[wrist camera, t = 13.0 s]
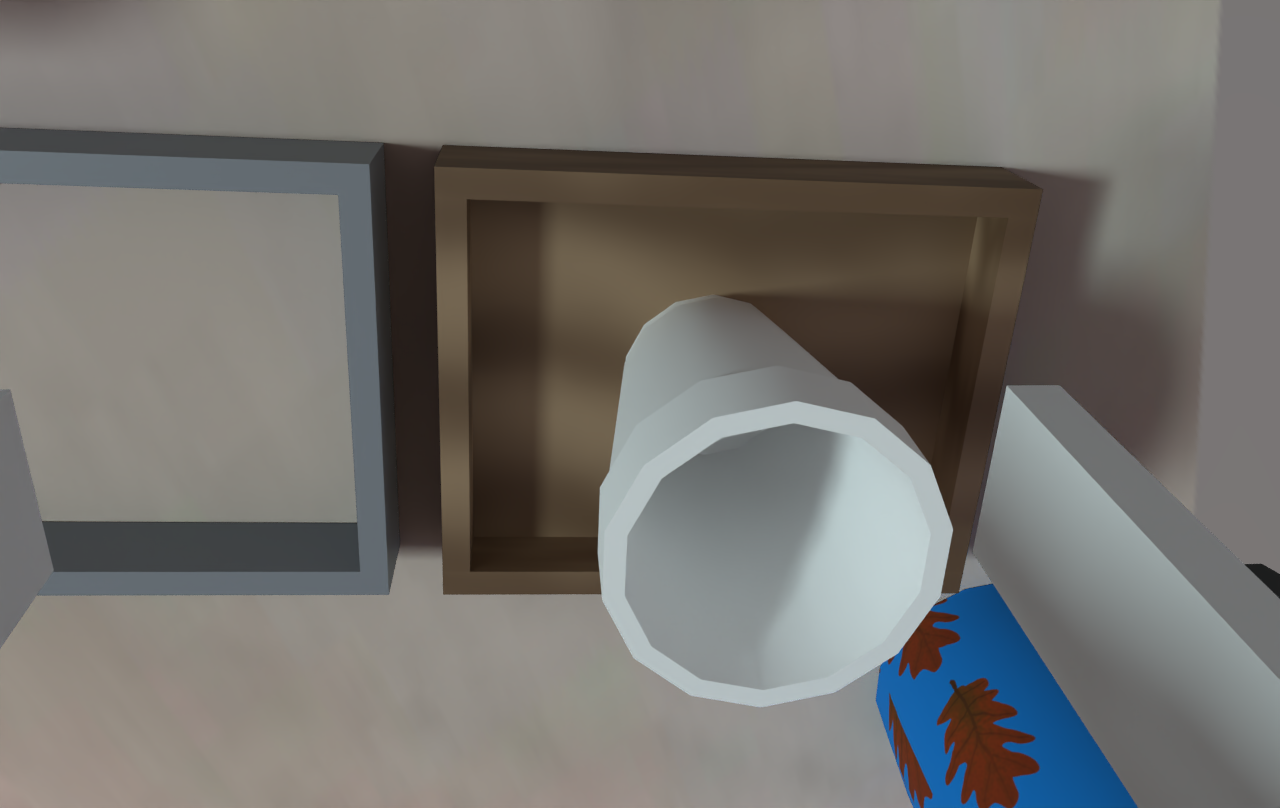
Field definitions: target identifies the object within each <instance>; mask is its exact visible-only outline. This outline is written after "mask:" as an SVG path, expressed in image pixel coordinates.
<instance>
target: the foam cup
mask: <svg viewBox="0 0 1280 808" xmlns="http://www.w3.org/2000/svg"><path fill="white" fill-rule="evenodd" d="M952 533H953V527H952V524H951V522H950V519H949V516H948V513H947V510H946V507H945V504H944V502H943V499H942V496H941V493H940V490H939V487H938V484H937V482H936V479H935V476H934V473H933V470H932V467H931V465H930V464H929V462H928V461H927V459H926V458H925V457H924V455H923V454H922V452H921V451H920V450H919V448H918V447H917V445H916V444H915V443H914V441H913V440H912V438H911V437H910V436H909V434H908V433H907V431H906V430H905V429H904V427H903V426H902V425H901V424H899V423H898V422H897V421H896V420H895V419H894V418H892V417H891V416H890V415H889V414H888V413H886V412H885V411H884V410H883V409H882V408H881V407H879V406H878V405H877V404H876V403H875V402H873V401H872V400H871V399H870V398H869V397H868V396H866V395H865V394H864V393H863V392H862V391H860V390H859V389H858V388H857V387H856V386H855V385H853V384H852V383H851V382H848V381H844V380H839V379H838V378H837V377H835V376H834V375H833V374H832V373H831V372H830V371H829V370H827V369H826V368H825V367H824V366H823V365H822V364H821V363H819V362H818V361H817V360H816V359H815V358H814V357H813V356H812V355H810V354H809V353H808V352H807V351H806V350H805V349H804V348H802V347H801V346H800V345H799V344H798V343H797V342H796V341H794V340H793V339H792V338H791V337H790V336H789V335H788V334H786V333H785V332H784V331H783V330H782V329H781V328H779V327H778V326H777V325H776V324H775V323H774V322H772V321H771V320H770V319H769V318H768V317H766V316H765V315H764V314H763V313H762V312H760V311H759V310H758V309H757V308H756V307H754V306H753V305H752V304H751V303H747V302H743V301H739V300H735V299H730V298H726V297H722V296H718V295H709V296H704V297H699V298H694V299H689V300H684V301H679V302H675V303H674V304H672V305H671V306H669V307H668V308H667V309H665V310H664V311H662V312H661V313H660V314H658V315H657V316H655V317H654V318H653V319H651V320H650V321H648V322H647V323H646V324H644V325H643V327H642V329H641V331H640V333H639V334H638V336H637V338H636V340H635V342H634V343H633V345H632V347H631V349H630V350H629V352H628V354H627V356H626V361H625V363H624V370H623V378H622V385H621V392H620V399H619V406H618V413H617V420H616V427H615V434H614V441H613V448H612V455H611V463H610V470H609V473H608V474H607V476H606V478H605V479H604V481H603V483H602V485H601V486H600V499H599V528H598V561H599V572H600V582H601V593H602V601H603V602H604V604H605V606H606V608H607V610H608V612H609V614H610V615H611V617H612V619H613V621H614V623H615V625H616V627H617V628H618V630H619V632H620V634H621V636H622V638H623V639H624V641H625V643H626V645H627V647H628V649H629V651H630V652H631V654H632V656H633V658H634V659H636V660H637V661H639V662H640V663H642V664H643V665H645V666H646V667H648V668H649V669H651V670H652V671H654V672H655V673H657V674H658V675H660V676H661V677H663V678H665V679H666V680H668V681H669V682H671V683H672V684H674V685H675V686H677V687H678V688H680V689H681V690H683V691H684V692H686V693H687V694H689V695H690V696H696V697H702V698H708V699H714V700H720V701H726V702H732V703H738V704H744V705H750V706H756V707H766V706H771V705H776V704H781V703H786V702H791V701H796V700H800V699H805V698H810V697H815V696H820V695H825V694H830V693H835V692H836V691H838V690H840V689H841V688H843V687H844V686H846V685H848V684H849V683H851V682H853V681H854V680H856V679H857V678H859V677H861V676H862V675H864V674H866V673H867V672H869V671H870V670H872V669H874V668H875V667H877V666H879V665H880V664H882V663H883V662H885V661H887V660H888V659H890V658H892V657H893V656H895V655H896V654H898V653H899V651H900V650H901V649H902V647H903V646H904V645H905V643H906V642H907V641H908V639H909V638H910V637H911V635H912V634H913V633H914V631H915V630H916V628H917V627H918V626H919V624H920V623H921V622H922V620H923V619H924V618H925V616H926V615H927V614H928V612H929V611H930V610H931V608H932V607H933V605H934V604H935V603H936V601H937V600H938V599H939V597H940V596H941V591H942V585H943V580H944V575H945V570H946V564H947V559H948V554H949V548H950V543H951V538H952Z"/></svg>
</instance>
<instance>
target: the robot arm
mask: <svg viewBox="0 0 1280 808" xmlns="http://www.w3.org/2000/svg"><path fill="white" fill-rule="evenodd" d="M973 554H974V555H975V557H976V558H977V560H978V562H979V563H980V565H981V566H982V568H983V569H984V571H985V572H986V574H987V575H988V577H989V579H990V580H991V582H992V583H993V585H994V586H995V588H996V589H997V591H998V592H999V594H1000V595H1001V597H1002V599H1003V600H1004V602H1005V603H1006V605H1007V606H1008V608H1009V609H1010V611H1011V612H1012V614H1013V615H1014V617H1015V619H1016V620H1017V622H1018V623H1019V625H1020V626H1021V628H1022V629H1023V631H1024V632H1025V634H1026V636H1027V637H1028V639H1029V640H1030V642H1031V643H1032V645H1033V646H1034V648H1035V649H1036V651H1037V652H1038V654H1039V656H1040V657H1041V659H1042V660H1043V662H1044V663H1045V665H1046V666H1047V668H1048V669H1049V671H1050V672H1051V674H1052V676H1053V677H1054V679H1055V680H1056V682H1057V683H1058V685H1059V686H1060V688H1061V689H1062V691H1063V693H1064V694H1065V696H1066V697H1067V699H1068V700H1069V702H1070V703H1071V705H1072V706H1073V708H1074V709H1075V711H1076V713H1077V714H1078V716H1079V717H1080V719H1081V720H1082V722H1083V723H1084V725H1085V726H1086V728H1087V729H1088V731H1089V733H1090V734H1091V736H1092V737H1093V739H1094V740H1095V742H1096V743H1097V745H1098V746H1099V748H1100V750H1101V751H1102V753H1103V754H1104V756H1105V757H1106V759H1107V760H1108V762H1109V763H1110V765H1111V766H1112V768H1113V770H1114V771H1115V773H1116V774H1117V776H1118V777H1119V779H1120V780H1121V782H1122V783H1123V785H1124V786H1125V788H1126V790H1127V791H1128V793H1129V794H1130V796H1131V797H1132V799H1133V800H1134V802H1135V803H1136V805H1137V807H1138V808H1280V574H1278V573H1277V572H1275V571H1273V570H1272V569H1270V568H1268V567H1266V566H1264V565H1263V564H1243V563H1242V562H1241V561H1240V560H1239V559H1238V558H1237V557H1236V556H1235V555H1234V554H1233V553H1232V552H1231V551H1230V550H1229V549H1228V548H1227V547H1226V546H1225V545H1224V544H1223V543H1222V542H1221V541H1220V540H1219V539H1218V538H1217V537H1216V536H1215V535H1214V534H1212V533H1211V532H1210V531H1209V530H1208V529H1207V528H1206V527H1205V526H1204V525H1203V524H1202V523H1201V522H1200V521H1199V520H1198V519H1197V518H1196V517H1195V516H1194V515H1193V514H1192V513H1191V512H1190V511H1189V510H1188V509H1187V508H1186V507H1185V506H1184V505H1183V504H1182V503H1181V502H1180V501H1178V500H1177V499H1176V498H1175V497H1174V496H1173V495H1172V494H1171V493H1170V492H1169V491H1168V490H1167V489H1166V488H1165V487H1164V486H1163V485H1162V484H1161V483H1160V482H1159V481H1158V480H1157V479H1156V478H1155V477H1154V476H1153V475H1152V474H1151V473H1150V472H1149V471H1148V470H1147V469H1146V468H1144V467H1143V466H1142V465H1141V464H1140V463H1139V462H1138V461H1137V460H1136V459H1135V458H1134V457H1133V456H1132V455H1131V454H1130V453H1129V452H1128V451H1127V450H1126V449H1125V448H1124V447H1123V446H1122V445H1121V444H1120V443H1119V442H1118V441H1117V440H1116V439H1115V438H1114V437H1113V436H1112V435H1110V434H1109V433H1108V432H1107V431H1106V430H1105V429H1104V428H1103V427H1102V426H1101V425H1100V424H1099V423H1098V422H1097V421H1096V420H1095V419H1094V418H1093V417H1092V416H1091V415H1090V414H1089V413H1088V412H1087V411H1086V410H1085V409H1084V408H1083V407H1082V406H1081V405H1080V404H1079V403H1077V402H1076V401H1075V400H1074V399H1073V398H1072V397H1071V396H1070V395H1069V394H1068V393H1067V392H1066V391H1065V390H1064V389H1063V388H1062V387H1061V386H1060V385H1007V387H1006V392H1005V397H1004V401H1003V406H1002V411H1001V416H1000V421H999V426H998V430H997V435H996V440H995V445H994V450H993V455H992V460H991V464H990V469H989V474H988V479H987V484H986V489H985V493H984V498H983V503H982V508H981V513H980V518H979V523H978V527H977V532H976V537H975V542H974V547H973ZM53 571H54V569H53V565H52V561H51V557H50V553H49V549H48V544H47V540H46V536H45V532H44V528H43V524H42V519H41V515H40V511H39V507H38V503H37V499H36V495H35V490H34V486H33V482H32V478H31V474H30V470H29V465H28V461H27V457H26V453H25V449H24V445H23V441H22V436H21V432H20V428H19V424H18V420H17V416H16V411H15V407H14V403H13V399H12V395H11V391H10V390H0V648H1V647H2V645H3V644H4V642H5V641H6V639H7V638H8V636H9V635H10V634H11V632H12V631H13V629H14V628H15V626H16V625H17V623H18V622H19V620H20V619H21V617H22V616H23V614H24V613H25V612H26V610H27V609H28V607H29V606H30V604H31V603H32V601H33V600H34V598H35V597H36V595H37V594H38V593H39V591H40V590H41V588H42V587H43V585H44V584H45V582H46V581H47V579H48V578H49V576H50V575H51V574H52V572H53Z"/></svg>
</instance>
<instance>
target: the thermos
mask: <svg viewBox="0 0 1280 808" xmlns="http://www.w3.org/2000/svg"><path fill="white" fill-rule="evenodd" d="M876 702H877V705H878V708H879V711H880V714H881V717H882V720H883V723H884V727H885V730H886V732H887V735H888V738H889V741H890V744H891V747H892V750H893V753H894V756H895V759H896V762H897V765H898V767H899V770H900V773H901V776H902V779H903V782H904V785H905V788H906V791H907V794H908V796H909V798H910V801H911V803H912V805H913V808H1138V807H1137V805H1136V803H1135V802H1134V800H1133V799H1132V797H1131V796H1130V794H1129V793H1128V791H1127V790H1126V788H1125V786H1124V785H1123V783H1122V782H1121V780H1120V779H1119V777H1118V776H1117V774H1116V773H1115V771H1114V770H1113V768H1112V766H1111V765H1110V763H1109V762H1108V760H1107V759H1106V757H1105V756H1104V754H1103V753H1102V751H1101V750H1100V748H1099V746H1098V745H1097V743H1096V742H1095V740H1094V739H1093V737H1092V736H1091V734H1090V733H1089V731H1088V729H1087V728H1086V726H1085V725H1084V723H1083V722H1082V720H1081V719H1080V717H1079V716H1078V714H1077V713H1076V711H1075V709H1074V708H1073V706H1072V705H1071V703H1070V702H1069V700H1068V699H1067V697H1066V696H1065V694H1064V693H1063V691H1062V689H1061V688H1060V686H1059V685H1058V683H1057V682H1056V680H1055V679H1054V677H1053V676H1052V674H1051V672H1050V671H1049V669H1048V668H1047V666H1046V665H1045V663H1044V662H1043V660H1042V659H1041V657H1040V656H1039V654H1038V652H1037V651H1036V649H1035V648H1034V646H1033V645H1032V643H1031V642H1030V640H1029V639H1028V637H1027V636H1026V634H1025V632H1024V631H1023V629H1022V628H1021V626H1020V625H1019V623H1018V622H1017V620H1016V619H1015V617H1014V615H1013V614H1012V612H1011V611H1010V609H1009V608H1008V606H1007V605H1006V603H1005V602H1004V600H1003V599H1002V597H1001V595H1000V594H999V592H998V591H997V589H996V588H995V586H994V585H993V584H990V585H985V586H979V587H974V588H969V589H965V590H963V591H961V592H959V593H957V594H955V595H953V596H951V597H949V598H947V599H945V600H943V601H941V602H939V603H937V604H935V605H933V607H932V608H931V610H930V611H929V612H928V614H927V615H926V616H925V618H924V619H923V620H922V622H921V623H920V624H919V626H918V627H917V628H916V630H915V631H914V633H913V634H912V635H911V637H910V638H909V639H908V641H907V642H906V643H905V645H904V646H903V647H902V649H901V650H900V651H899V653H898V654H896V655H895V656H893V657H892V658H890V659H888V660H887V661H885V662H883V663H882V665H881V667H880V671H879V679H878V687H877V696H876Z"/></svg>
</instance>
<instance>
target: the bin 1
mask: <svg viewBox="0 0 1280 808" xmlns="http://www.w3.org/2000/svg"><path fill="white" fill-rule="evenodd" d="M0 183H10V184H39V185H68V186H97V187H126V188H155V189H184V190H213V191H242V192H271V193H300V194H329V195H338V199H339V216H340V233H341V250H342V267H343V285H344V302H345V319H346V336H347V354H348V371H349V388H350V405H351V422H352V440H353V457H354V474H355V491H356V508H357V523H187V522H42V524H43V528H44V532H45V536H46V540H47V544H48V549H49V553H50V557H51V561H52V565H53V569H54V571H53V572H52V574H51V575H50V576H49V578H48V579H47V581H46V582H45V584H44V585H43V587H42V588H41V590H40V591H39V593H38V594H37V595H389V592H390V587H391V583H392V578H393V574H394V569H395V564H396V560H397V555H398V551H399V546H400V539H399V514H398V489H397V464H396V439H395V414H394V389H393V364H392V339H391V314H390V289H389V265H388V240H387V215H386V190H385V165H384V143H374V142H349V141H323V140H298V139H273V138H247V137H222V136H197V135H172V134H146V133H121V132H96V131H70V130H45V129H20V128H0Z"/></svg>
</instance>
